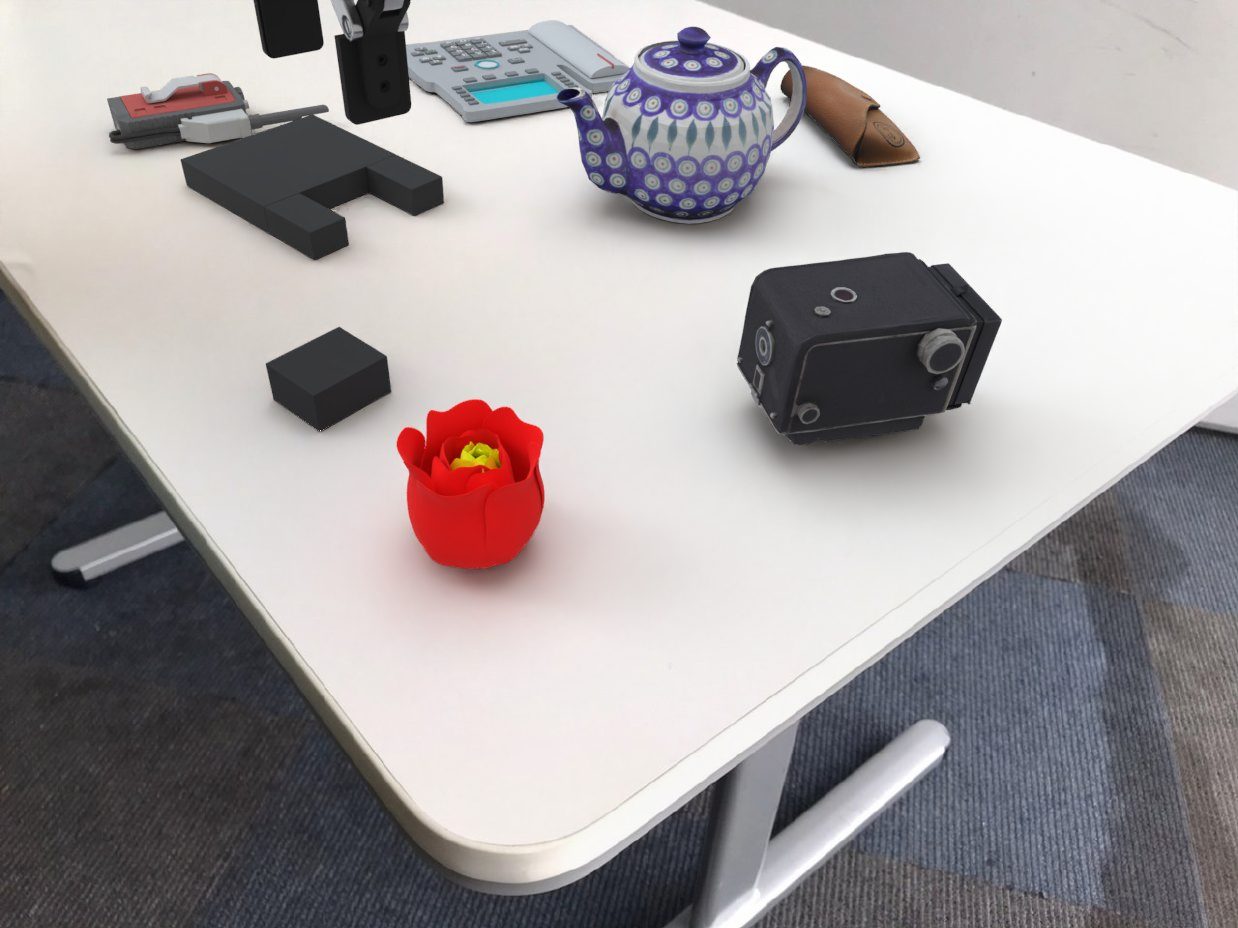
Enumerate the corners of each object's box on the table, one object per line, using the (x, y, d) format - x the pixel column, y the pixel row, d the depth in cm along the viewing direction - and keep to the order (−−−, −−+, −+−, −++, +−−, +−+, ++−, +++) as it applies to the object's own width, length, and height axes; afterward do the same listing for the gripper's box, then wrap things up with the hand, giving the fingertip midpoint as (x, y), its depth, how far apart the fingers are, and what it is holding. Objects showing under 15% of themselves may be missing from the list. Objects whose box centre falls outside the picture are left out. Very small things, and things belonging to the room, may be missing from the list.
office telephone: (570, 12, 122) (658, 70, 110) (570, 34, 124) (656, 94, 111) (385, 34, 113) (457, 101, 100) (387, 58, 114) (458, 127, 102)
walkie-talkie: (119, 164, 92) (334, 126, 100) (105, 117, 89) (327, 82, 98) (100, 127, 98) (305, 94, 106) (87, 81, 95) (299, 51, 103)
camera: (781, 500, 65) (990, 446, 68) (795, 359, 57) (1030, 305, 60) (721, 399, 73) (911, 354, 75) (726, 262, 65) (938, 218, 67)
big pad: (314, 260, 82) (310, 232, 80) (186, 186, 90) (179, 159, 88) (444, 202, 90) (442, 176, 88) (316, 139, 98) (312, 114, 97)
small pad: (320, 432, 66) (313, 396, 64) (273, 399, 68) (264, 363, 66) (391, 391, 70) (387, 356, 68) (344, 361, 72) (339, 326, 70)
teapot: (751, 143, 103) (775, -14, 93) (840, 212, 93) (876, 44, 83) (520, 182, 94) (518, 12, 84) (590, 263, 84) (597, 81, 74)
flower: (409, 598, 56) (396, 493, 51) (407, 502, 62) (394, 398, 56) (551, 585, 57) (552, 481, 52) (536, 492, 63) (536, 389, 58)
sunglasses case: (928, 157, 101) (911, 103, 96) (866, 196, 102) (846, 144, 97) (846, 87, 114) (828, 36, 109) (792, 123, 115) (771, 74, 110)
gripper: (107, -367, 43) (199, 43, 55) (270, -327, 33) (341, 165, 45) (276, -364, 47) (329, 20, 58) (469, -328, 37) (488, 128, 48)
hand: (334, 83), depth 51 cm, fingers open, 9 cm apart
